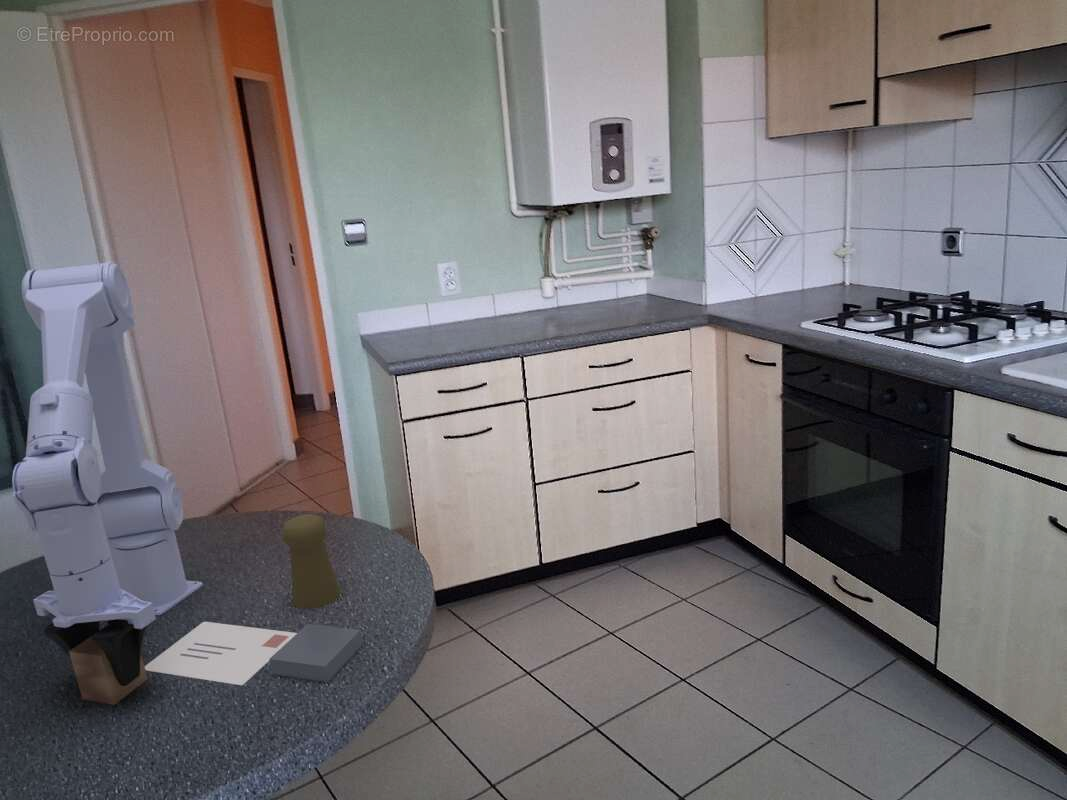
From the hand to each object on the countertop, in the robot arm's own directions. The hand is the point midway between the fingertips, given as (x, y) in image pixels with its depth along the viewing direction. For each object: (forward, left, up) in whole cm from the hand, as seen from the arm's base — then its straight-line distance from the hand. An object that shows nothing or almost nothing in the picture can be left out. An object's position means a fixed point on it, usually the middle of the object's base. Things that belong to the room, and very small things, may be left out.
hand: (112, 677), depth 85 cm
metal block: (+19, +9, -2) cm, 22 cm away
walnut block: (0, 0, -2) cm, 2 cm away
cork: (+11, +22, -2) cm, 24 cm away
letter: (+7, +9, -2) cm, 11 cm away
